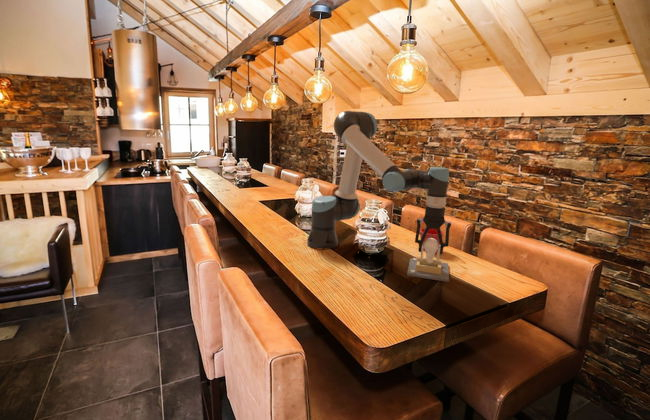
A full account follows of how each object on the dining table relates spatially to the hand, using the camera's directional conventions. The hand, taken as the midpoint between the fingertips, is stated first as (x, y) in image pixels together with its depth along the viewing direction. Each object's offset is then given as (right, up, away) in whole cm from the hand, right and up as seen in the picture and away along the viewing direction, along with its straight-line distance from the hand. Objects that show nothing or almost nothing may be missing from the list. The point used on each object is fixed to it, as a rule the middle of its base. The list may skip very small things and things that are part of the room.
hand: (429, 260), depth 148 cm
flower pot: (+8, +1, +26) cm, 27 cm away
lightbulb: (0, -2, 0) cm, 2 cm away
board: (0, -4, +1) cm, 4 cm away
